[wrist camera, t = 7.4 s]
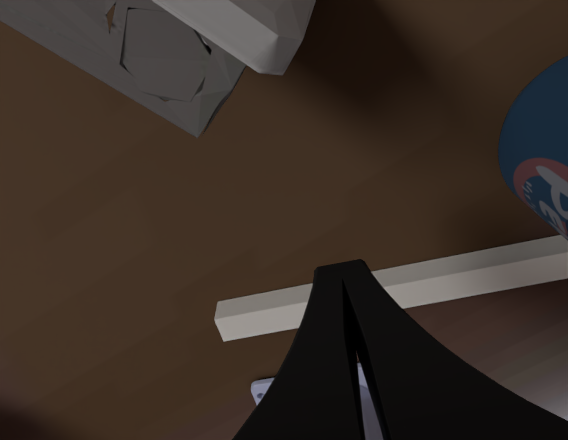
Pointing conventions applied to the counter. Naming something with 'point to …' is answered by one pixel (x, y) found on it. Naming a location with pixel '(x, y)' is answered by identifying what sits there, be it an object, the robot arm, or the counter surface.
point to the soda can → (539, 146)
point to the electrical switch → (168, 46)
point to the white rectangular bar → (409, 285)
